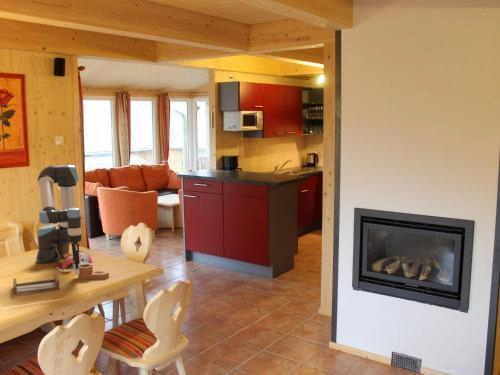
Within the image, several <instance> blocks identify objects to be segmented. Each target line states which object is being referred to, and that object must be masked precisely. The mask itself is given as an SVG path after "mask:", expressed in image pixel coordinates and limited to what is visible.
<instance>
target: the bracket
mask: <svg viewBox="0 0 500 375" xmlns="http://www.w3.org/2000/svg"><path fill="white" fill-rule="evenodd" d="M79 271H80V274H77V277H78V278H77V279H79V280H105V279H107V278H109V277H110V275H109V274H110V273H109V270H101V269H99V270H94V269H93V263H92V264H81V265H79Z"/></svg>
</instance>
